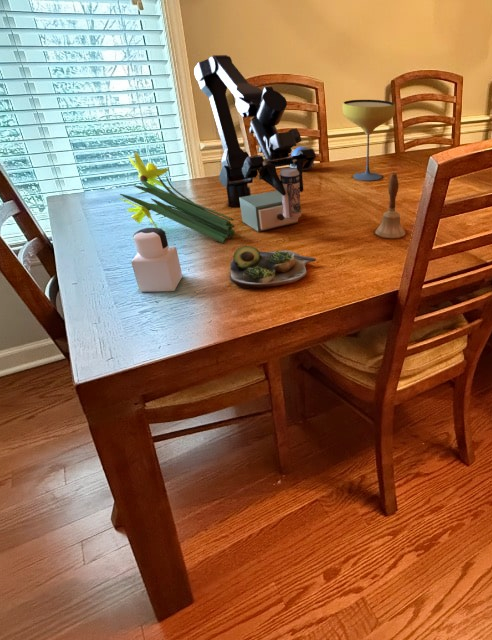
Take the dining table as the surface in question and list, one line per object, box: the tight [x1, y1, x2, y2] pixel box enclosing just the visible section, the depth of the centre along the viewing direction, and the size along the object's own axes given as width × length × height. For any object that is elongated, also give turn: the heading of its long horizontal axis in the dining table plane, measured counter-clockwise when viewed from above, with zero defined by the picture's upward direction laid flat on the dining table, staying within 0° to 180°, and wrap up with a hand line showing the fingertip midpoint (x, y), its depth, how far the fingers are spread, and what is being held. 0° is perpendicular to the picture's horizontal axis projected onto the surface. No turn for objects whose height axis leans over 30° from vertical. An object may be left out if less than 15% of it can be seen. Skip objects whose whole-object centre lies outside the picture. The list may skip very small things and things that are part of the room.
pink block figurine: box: [130, 227, 183, 293], centre depth 96 cm, size 7×7×12 cm
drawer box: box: [239, 189, 299, 233], centre depth 130 cm, size 10×12×7 cm
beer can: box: [279, 166, 302, 219], centre depth 117 cm, size 5×5×12 cm
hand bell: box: [374, 172, 406, 240], centre depth 122 cm, size 8×8×16 cm
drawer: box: [258, 204, 299, 230], centre depth 129 cm, size 10×11×5 cm
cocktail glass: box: [342, 99, 396, 182], centre depth 166 cm, size 18×18×25 cm
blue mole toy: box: [290, 146, 319, 171], centre depth 178 cm, size 12×12×8 cm
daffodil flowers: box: [117, 150, 236, 244], centre depth 122 cm, size 17×15×35 cm
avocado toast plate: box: [229, 245, 317, 289], centre depth 105 cm, size 19×18×5 cm
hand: (293, 192), depth 116 cm, fingers closed on beer can, 5 cm apart
